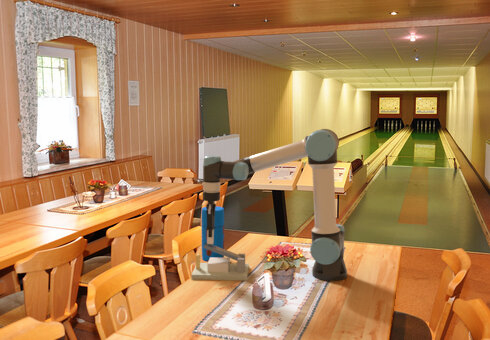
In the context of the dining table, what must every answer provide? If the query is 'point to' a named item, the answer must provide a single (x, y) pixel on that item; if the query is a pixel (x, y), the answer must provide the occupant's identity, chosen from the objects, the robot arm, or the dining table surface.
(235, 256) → the clamp lever
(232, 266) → the clamp board
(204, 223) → the thermos
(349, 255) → the dining table surface
